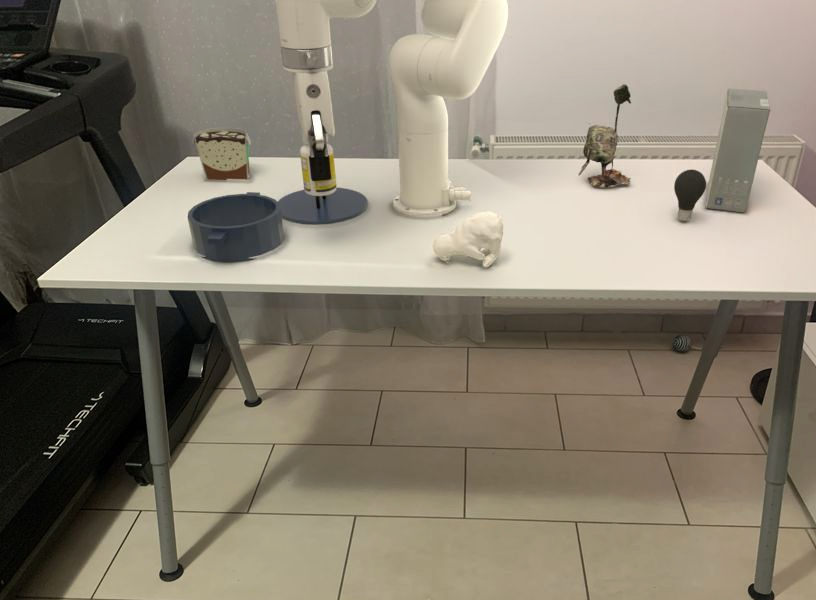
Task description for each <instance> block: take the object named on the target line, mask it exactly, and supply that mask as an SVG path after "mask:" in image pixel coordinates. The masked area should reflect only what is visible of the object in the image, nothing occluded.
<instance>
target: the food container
mask: <svg viewBox="0 0 816 600" xmlns="http://www.w3.org/2000/svg"><path fill="white" fill-rule="evenodd" d="M251 144H252V142H251V138H250V136H249V134H248V132H247V131H246V130H245V129H242V128H237V127H213V128H208V129H203V130H200V131H197V132H195V133H193V137H192V145H195V146H196V149H197V153H198V156H199V160H200V163H201V166H202V170H203V172H204V176H205V180H206V181H207V182H226V181H227V180H250V158H249V157H250V156H249V146H251Z"/></svg>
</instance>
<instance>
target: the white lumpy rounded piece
mask: <svg viewBox="0 0 816 600" xmlns="http://www.w3.org/2000/svg"><path fill="white" fill-rule="evenodd" d="M503 236H504V224H503V219H502V217H501V216H500V215H499V214H498V213H496V212H493V211H481V212H477V213H474V214H472V215H471V216H470V217H468V218H466V219H465V220H463V221H462V223H461V224H459V225H457V226H456V228H454V230H452V231H450V232H449V233H444V234H440V235H439V236H437V237H436V238H435V239H434V241H433V244H432V249H433V253H434V254H435V255H436V256H437V257H438V258H439V259H440V260H441V261H444V262H445V263H447V264H449V260H451V256H452V255H461V256H468V257H470V258H473V259H475V260H479V261H482V267H483V268H485V269H486V268H489V266H492V264H493V263H494V262H495V261H496V260H497V258H498V256H499V254H500V250H501V248H502V240H503ZM481 250H482V251H481Z"/></svg>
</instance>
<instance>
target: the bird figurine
mask: <svg viewBox="0 0 816 600" xmlns="http://www.w3.org/2000/svg"><path fill="white" fill-rule="evenodd" d="M613 96H614V98H613V99H614V101H615V103H616V105H617V106H616V113H615V115H616V116H615V119H614V121H615V122H614V127H610V126H604V125H601V124H595V125H591V123H588V125H591V126H589V127H588V130H587V134H586V141H585V144H584V146H583V150H582V154H583V157H585V158H586V160H585V163H583V165H582V166H581V169H580V170H579V172H578V174H577V175H578V176H580V175H581V174H582V173H583V172H584V170H586V168H587V166H588V165H589V164H590V161H592V162H595V163H600V167H601V173H600V174H597V175H591V176H588V177H587V181H588V183H589V184H590V186H593V187H595V188H610V187H611V188H614V187H616V186H618V185H625V184H626V185H630V184H631V179H632V178H630V177H627V176H626V175H624V174H622V171H621V170H617V169H615V168H613V167H614V159H615V154H616V151H617V146H618V142H619V138H618V137H619V135H618V132H617V130H618V128H617V126H618V119H619V112H620V107H621V105H622V104H624V103H626V102H628V104H632V102H631V99H630V98H631V92H630V90H629V86H628V85H627V84H626V83H623V84H622V85H620V86H618V87H616V88H615V89H614V90H613ZM610 164H611V168H610V169H607V167H608V165H610Z"/></svg>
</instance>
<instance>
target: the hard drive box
mask: <svg viewBox="0 0 816 600" xmlns="http://www.w3.org/2000/svg"><path fill="white" fill-rule="evenodd" d="M771 110H772V109H771V104H770V101H769V95H768V92H767V91H766V90H754V89H741V88H728V89H727V90H726V96H725V101H724V106H723V111H722V115H721V120H720V125H719V129H718V134H717V139H716V144H715V148H714V154H713V158H712V164H711V168H710V172H709V173H710V174H709V179H708V185H707V194H706V202H705V208H706V209H712V210H720V211H729V212H736V213H737V212H738V213H746V211H747V207H748V202H749V199H750V195H751V191H752V187H753V182H754V179H755V174H756V171H757V167H758V166H757V165H758V161H759V158H760V153H761V150H762V145H763V141H764V137H765V133H766V130H767V126H768V125H767V123H768V121H769V117H770V113H771Z"/></svg>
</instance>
